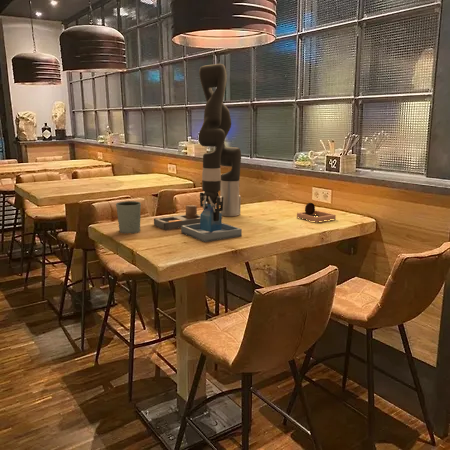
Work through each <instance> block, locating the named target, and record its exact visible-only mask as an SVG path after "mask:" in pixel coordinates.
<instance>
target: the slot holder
mask: <svg viewBox="0 0 450 450" xmlns="http://www.w3.org/2000/svg"><path fill="white" fill-rule="evenodd" d="M197 223H200V214H198V213H197V218H194V219H187V218H186V214H179V215H174V216H173V215H172V216H164V217H163V216H162V217H156V218H153V225H154V227H155V226H156V227H157V228H160V229H162V230H164V231H168V230H174V229H181V226H183V225H190V224H197Z"/></svg>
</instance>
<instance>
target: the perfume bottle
mask: <svg viewBox="0 0 450 450" xmlns="http://www.w3.org/2000/svg"><path fill="white" fill-rule="evenodd" d="M207 206H208V208H205V209H203V210H202V211H201V213H200V214H199V215H200V229H201V230H205V231H208V232H213V231H218V230H221V227H222V223H223V222H222V221H223V215H221V213H220V212H219V221H214V211H213V208H212V207H211V204H210V201H208V203H207Z"/></svg>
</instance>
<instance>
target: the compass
mask: <svg viewBox="0 0 450 450" xmlns="http://www.w3.org/2000/svg"><path fill="white" fill-rule="evenodd" d="M315 210H316V206H315V204H314V203H312V202H308V203H306V204H305V207H304V212H306V214H307V215H310V216H315V217H316V216H318V217H321V216H320V215H312V214H313V213H314V212H315Z"/></svg>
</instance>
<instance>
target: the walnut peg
mask: <svg viewBox="0 0 450 450" xmlns="http://www.w3.org/2000/svg"><path fill="white" fill-rule="evenodd" d="M197 212H198V205H196V204H186V205H185V215H186V218H187V219H194V218H197V214H198V213H197Z"/></svg>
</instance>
